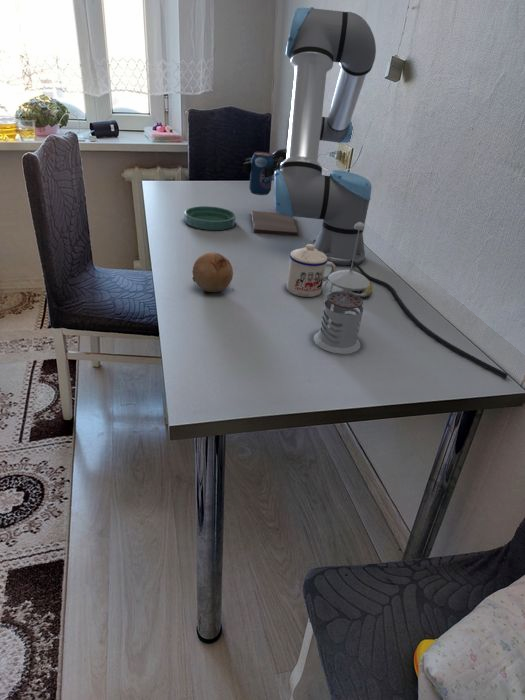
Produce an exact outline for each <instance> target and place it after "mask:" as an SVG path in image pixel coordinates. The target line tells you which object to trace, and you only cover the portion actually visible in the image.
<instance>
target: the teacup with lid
mask: <svg viewBox="0 0 525 700" xmlns="http://www.w3.org/2000/svg"><path fill="white" fill-rule="evenodd" d="M288 266H289V267H288V274H287V282H286V290H287V291H288V292H289V293H290V294H292V295H295V296H298V297H303V298H313V297H317V296H319V295H320V294H321V293H322V290H323V285H324V284H323V283H324V282H327V280H329V279H328V276H329V275H330V274H331V273H333V272H336V265H334V264H333V263H332V262H328V259H327V256H326V255H325V254H324V253H322V252H320V251H318V250H317V249H315V246H314V244H313V243H307V244H306V245H305V246H304V247H301V248H295V249H293V250H292V251H290V254H289V265H288ZM327 266H330V267H331V270H330V272H329V274H328V275H327V276H325V272H326V267H327Z"/></svg>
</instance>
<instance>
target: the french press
mask: <svg viewBox="0 0 525 700" xmlns="http://www.w3.org/2000/svg"><path fill="white" fill-rule="evenodd" d="M354 229H356V230H358V234H357V239H356V244H355V249H354V254H353V259H352V265H351V266H350V269H343V270H342V269H341V270H335V272H333V273H331V274H330V273H329V274H330V275H329V274H328V275H329V276H328V275H327V276H328V279H329V280H327V281H325V284H324V287H323V292H322V297H323V298H322V301H323V311H322V317H321V322H320V328H319V330H318V332H316V333H315V334H314V335H313V341H314V343H315V345H316V346H318V347H319V348H320V349H322V350H324V351H327V352H330V353H332V354H333V353H334V354H340V355H346V354H347V355H348V354H353V353H356V352H357V351H359V350H360V348H361V341H360V340H359V339H358V336H359V332H360V329H359V328H360V327H361V321H362V318H363V314H364V307H363V305H364V300H363V298H362V297H360V296H357V295H355V294H352V293H348V292H347V291H348V290H351V291H360V290H365V289H366V288H368V287H369V286H370V282H371V281H370V279H368V278H367V277H365V276H364V275H363V274H362V273H361V272H358V271H353V266H354V265H353V261H354V256H355V251H356V246H357V241H358V236H359V231H360V230H363V231H365V225H364V224H363V223H361V222H358V223H356V224H355V225H354ZM369 281H370V282H369ZM329 282H330V283H331V286H330V290H329V293H328V294H327V295H326V300H325V292H326V286H327V284H328V283H329ZM333 286H334V287H337V288H339V289H342V290H343V291H342V290H336V291H333ZM344 289H345V290H346V292H344ZM331 308H332V309H331ZM357 309H358V310H359V311H358V310H357ZM346 312H352V313H346ZM353 313H355V314H353Z"/></svg>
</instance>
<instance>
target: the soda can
mask: <svg viewBox="0 0 525 700" xmlns="http://www.w3.org/2000/svg"><path fill="white" fill-rule="evenodd" d="M272 155H273V153H271V152H266V151H254V152H253V155H252V157H251V158H252V160H251V171H249V172H250V174H249V187H248V188H249V191H250V193H251V194H252V195H257V196H268V195H269V194H270V192H271V191H272V182H273V175H272V176H270V177H267V178H266V177H265V168H267V167H270V166H273V163H274V160H273V157H272Z"/></svg>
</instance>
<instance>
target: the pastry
mask: <svg viewBox="0 0 525 700" xmlns="http://www.w3.org/2000/svg"><path fill="white" fill-rule="evenodd" d="M369 282H370V286H369V287H368V288H366V289H365V290H360V291H351V290H348V291H347V292H348V293H352V294H355V295H357V296H359V297H360V298H367V297H369V296H370V295H371V294H372V292H373V286H372V285H373V284H372V282H371V280H369ZM343 292H346V290H345V289H343Z"/></svg>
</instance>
